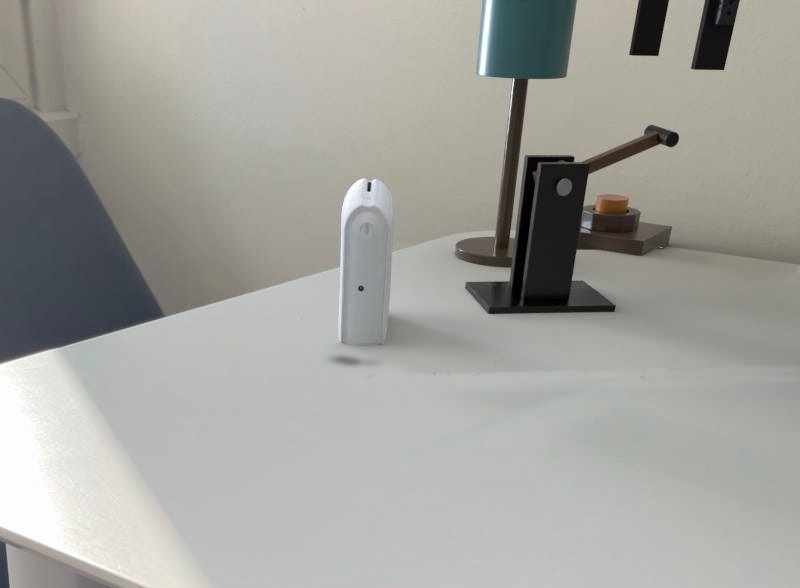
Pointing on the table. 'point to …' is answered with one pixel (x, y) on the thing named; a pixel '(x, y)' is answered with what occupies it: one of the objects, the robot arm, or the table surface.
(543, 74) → the lamp
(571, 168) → the switch bracket
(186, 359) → the table surface
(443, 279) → the table surface
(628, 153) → the switch lever
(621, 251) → the block
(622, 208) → the lamp button
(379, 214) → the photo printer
